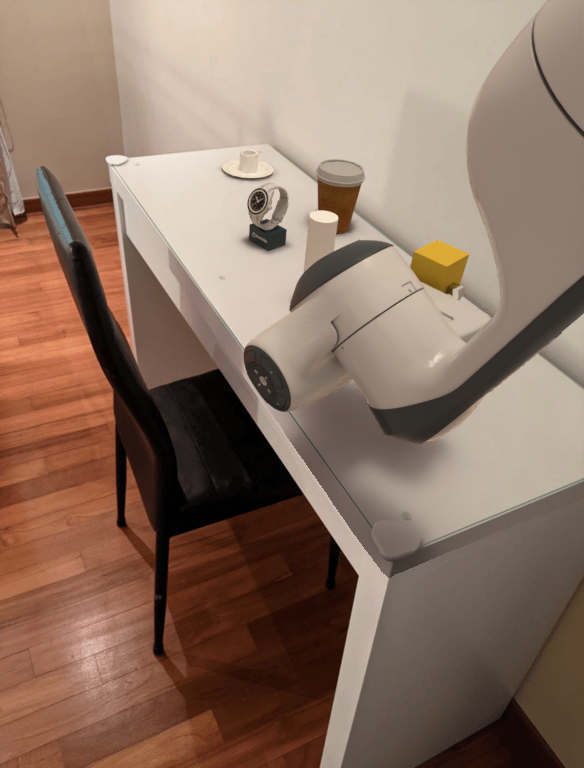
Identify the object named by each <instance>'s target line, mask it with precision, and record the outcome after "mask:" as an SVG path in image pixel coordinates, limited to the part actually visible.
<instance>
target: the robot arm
mask: <svg viewBox="0 0 584 768" xmlns="http://www.w3.org/2000/svg"><path fill="white" fill-rule="evenodd" d="M465 141H466V142H465V149H466V150H465V154H466V169H467V177H468V181H469V186H470V189H471V194H472V196H473V197H472V198H473V199H474V202H475V205H476V209H477V210H478V212H479V215H480V218H481V220H482V223H483V224H482V225H483V226H484V229H485V231H486V234H487V235H486V236H487V238H488V240H489V244H490V248H491V251H492V255H493V259H494V263H495V268H496V273H497V279H498V286H499V302H498V306H497V309H496V311H495V314H493V315H492V317H490V315H489V314H488V313H486V312H485V311H482V310H480V309H478V308H477V307H474V306H472V305H470V304H468V303H465V302H464V301H462V300H461V299H462V298H463V295H464V292H465V286H463V285H461V284H460V285H459V284H457V283H452V284H450V285H449V286H448V287H447V290H446V293H443V292H441V291H439V290H437V289H435V288H433V287H431V286H429V285H427V284H425V283H423V282H421V281H419V279H418V278H417V276H416V275H415V273H414V272H413V271H412V269H411V268H410V266H411V263H410V264H408V262H407V260H406V259H405V257H404V256H403V255H402V254H401V252H400V251H399V250H398V249H397V248H396V247H395V245H394V244H393V243H390V242H387V241H383V240H375V239H358V240H355V241H353V242H350V243H348V244H346V245H344V246H342V247H340V248H338V249H336V250H334V252H332V253H330V254H328V255H326V256H324V257H323V258H321V259H319V260H318V261H317V262H315V263H314V264H313V265H311V266H310V267H309V268H308V269H307V270H306V271H305V272H304V271H303V273H302V275H301V276H300V278H299V279H298V280H297V282H296V283H295V284H296V285H295V287H294V291H293V294H292V296H291V299H290V304H289V313H288V314H286V315H285V316H283V317H282V318H280V319H279V320H277V321H276V322H274V323H272V324H270V325H269V326H267V328H266V329H264V330H263V331H261V332H260V333H258V334H257V335H256V336H254V337H253V338H251V340H250V341H249V342H248V343H247V344H246V345H245V346H244V349H243V353H242V356H243V364H244V368H245V371H246V375H247V377H248V379H249V381H250V382H251V384H252V386H253V388H254V389H255V390H256V392H257V393H258V394H259V396H260V397H261V398H262V399H263V401H265V403H266V404H268V405H269V406H270V407H272V408H273V409H274V410H276V411H278V412H280V413H290V412H294V411H296V410H298V409H301V408H305V407H306V406H308V405H310V404H312V403H315V402H317V401H319V400H321V399H322V398H325V397H326V396H328V395H331V394H332V393H334V392H335V391H338V390H339V389H340V388H342V387H344V386H345V385H347V384H348V383H349V382H350V381H352V382H353V383H354V385H355V386H356V388H357V389H358V390H359V392H360V394H361V395H362V396H363V398H364V400H365V401H366V402H367V406H368V408H369V410H370V412H371V413H372V415H373V417H374V419H375V420H376V422H377V424H378V426H379V427H380V429H381V431H382V432H383V434H384V435H385V436H387V437H390V438H392V439H396V440H399V441H402V442H406V443H410V444H415V445H422V444H424V443H429V442H432V441H433V442H434V441H436V440H438V439H440V438H442V437H444V436H446V435H448V434H449V433H450V432H453V431H454V430H456V429H457V428H458V427H460V426H461V425H462V424H463V423H464V422H465V421H466V420H467V419H468V418H469V417H470V416H471V415H472V414H473V413H474V412H475V410H476V409H477V407H479V405H480V404H481V402H482V401H483V399H485V397H486V396H487V395H488V394H489V393H491V392H493V391H494V390H495V389H497V388H498V387H499V386H500V385H501V384H503V383H504V382H505V381H506V380H507V379H509V377H511V376H512V375H513V374H515V373H516V372H518V371H519V370H520V369H521V368H522V367H523V366H525V365H526V363H528V362H530V361H531V360H533V358H534V357H536V355H538V354H539V353H540V352H542V351H543V350H545V348H547V347H548V346H549V345H550V344H551V343H553V342H554V341H555V340H556V339H557V338H559V337H560V336H561V335H562V333H563V332H564V331H565V330H566V329H567V328H569V327H570V326H571V325H572V324H573V323H574V322H576V321H577V320H578V319H579V318H580V317H582V316H583V315H584V0H546V1H545V2H544V3H543V4H542V5H541V7H540V8H539V9H538V10H537V11H536V13H535V14H534V15H533V16H532V17H531V18H530V19H529V21H528V22H527V23H526V24H525V26H524V27H523V28H522V29H521V30H520V31H519V32H518V34H517V35H516V36H515V37H514V39H513V40H512V41H511V42H510V44H509V45H508V46H507V47H506V49H505V50H504V51H503V53H502V54H501V56H500V57H499V58H498V60H496V62H495V64H494V65H493V67H492V68H491V69H490V71H489V72H488V74H487V75H486V77H485V79H484V81H483V83H481V86H480V88H479V90H478V91H477V94H476V96H475V98H474V100H473V103H472V105H471V109H470V112H469V117H468V123H467V130H466V139H465Z"/></svg>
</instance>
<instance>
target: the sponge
mask: <svg viewBox="0 0 584 768" xmlns="http://www.w3.org/2000/svg"><path fill="white" fill-rule="evenodd" d="M469 256H470V253H468V252H466V251H463V250H461V249H459V248H457V247H455V246H452V245H450V244H448V243H446V242H444V241H442V240H439V239H435V240H433V241H432V242H430V243H428V244H426V245H424V246H422V247H420V248H418V249H415V250H414V251H413V254H412V258H411V262H410V264H411V266H410V268H411V269H412V271H413V272H414V273H415V275H416V276H417V278H418V279H419V281H421V282H423V283H425V284H427V285H429V286H431V287H433V288H435V289H437V290H439V291H441V292H443V293H446V290H447V287H448V286H449V285H450V284H452V283H457V284H459V285H461V282H462V279H463V277H464V273H465V270H466V266H467V264H468V260H469Z"/></svg>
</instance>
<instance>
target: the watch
mask: <svg viewBox="0 0 584 768" xmlns="http://www.w3.org/2000/svg"><path fill="white" fill-rule="evenodd" d="M275 190H278V192H279V198H278V200H277V203H276V205H275V208H274V209H273V206H272V205H273V197H274V196H275V195H274V194H275ZM289 205H290V204H289V193H288V191H287V190H286V188H284V187H282V186H281V185H279V184H276V183H274V182H267V183H264V184H261V185H260V186H259V187H256V188H254V189H253V190H252V191H251V192H250V194H249V195H248V197H247V203H246V206H247V210H248V216H249V219H250V221H251V223H249V227H248V228H249V231H248V241H249V242H252V243H254V244H255V245H257V246H259V247H261V248H262V249H264V250H265V251H267V252H270V251H272V250H276V249H279V248H282V247H284V246H286V243H287V228H284V227H283V226H281V225H280V224H281V223H282V222H283V220H284V218H285V216H286V214H287V211H288V208H289ZM272 209H273V212H272V215H271V218H270V219H268V218H265V219H264V217H265V216H266V214H268V213H269V212H270V211H272Z"/></svg>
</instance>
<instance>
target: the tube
mask: <svg viewBox="0 0 584 768" xmlns="http://www.w3.org/2000/svg"><path fill="white" fill-rule="evenodd" d="M337 225H338V216H337V215H336V214H334V213H332V212H329V211H322V210H319V211H318V210H314V211H311V212H310V213H309V218H308V228H307V235H306V236H307V237H306V246H305V254H304V255H305V256H304V263H303V273H304V272H305V271H306V270H307V269H308V268H309V267H310V266H311V265H313V264H314V263H315V262H317V261H318V260H319V259H321V258H323V257H324V256H326V255H328V254H330V253H332V252H334V251H335V246H336V240H337V233H336V232H337Z"/></svg>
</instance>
